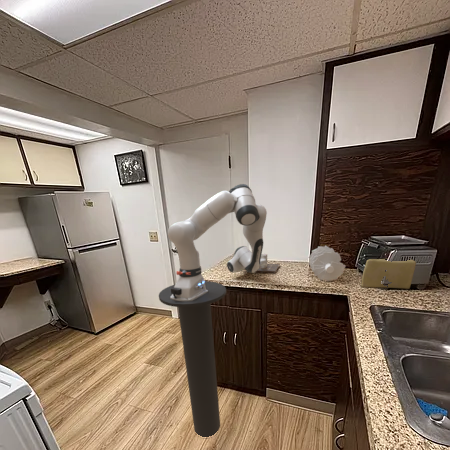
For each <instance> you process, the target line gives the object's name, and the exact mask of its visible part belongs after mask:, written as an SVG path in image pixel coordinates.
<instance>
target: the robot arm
mask: <svg viewBox="0 0 450 450" xmlns="http://www.w3.org/2000/svg"><path fill="white" fill-rule="evenodd" d="M231 213H234V215H235V218H236V220H237V222H238V223H239V224H240V225H242V234H243V236H244V238H245V239H246V241H247V242H248V244H249V246H250V248H249V247H247V246H246V245H242V246H239V247H237V248H236V249H235V251H234V253H233V257H232V258H231V259H229V260H228V261H227V262H226V268H227V270H228V271H229V272H230V273H233V274H234V273H240V272H242V271H245V272H246V271H247V272H246V273H248V274H255V273H257V272H256V271H257V270H258V269H259V268H260V266H264V265H266V264H268V259H267V260H266V259H261V254H263V249H264V237H263V236H264V235H263V233H264V232H263V231H264V227H265V224H266V220H267V214H268V212H267V209H266V207H265V206H264V205H262V204H260V203H257V202H256V199H255V196H254V194H253V191H252V189H251V187H250V186H249V185H248V184H245V183H240V184H237V185H235V186H233V187H232V188H230V189H229V191H228V190H221V191H219V192H217V193H216V194H214V195H212V196H211V197H210V198H208V199H207V200H206V201H204V202H203V203H202V204H201V205H200V206H198V207H197V208H196V209H195V210H194V212H193V213H192V215H191V216H190V217H189V218H186V219H184V220H180V221H176V222H174V223H172V224H171V225H169V227H168V229H167V237H168V239H169V241H170V242H171V243H173V245H174V247H175V250H176V252H177V255H178V261H179V270H177V271H176V275H177V276H178V278H177V280H176V282H175V284H174V285H175V286H174V288H172V289H171V294H172V295H171V297H170V299H172V300H176V301H193V300H195V299H197V298H198V297H200V296H202V295H204V294H206V293H208V290H206V287H205V281H206V280H205V277H204V276H203V275H202V266H201V261H200V260H201V259H200V252H199V251H198V250H197V247H196V245H195V243H194V241H196V240H198V239H199V238H200V237H201V236H203V235H204V234H205V233H206V232H207V231H208V230H209V229H211V228H212V227H214V226H215V225H216V224H217V223H219V222H220V221H221V220H223V219H224V218H225V217H227V215H228V214H231ZM250 249H251V250H250Z"/></svg>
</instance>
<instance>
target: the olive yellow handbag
mask: <svg viewBox="0 0 450 450" xmlns="http://www.w3.org/2000/svg"><path fill="white" fill-rule="evenodd" d="M385 259H386V258H369V259H367V260H366V262H365V265H364V268H363V272H362V277H361V283H360V286H361V287H362V288H378V289H379V288H380V289H381V288H383V289H400V290H401V289H402V290H403V289H404V290H409V289H411V285H412V282H413V278H414V274H415V269H416V265H417V262H416V260H413V259H411V260H407V261H392V262H391V261H387V260H385ZM385 270H387V271H386V272H385ZM384 276H386V280H387V279H388V281H389V282H392V283H391V284H388V287H387V286H384V285H383V284H381V281H382V279H383V277H384Z"/></svg>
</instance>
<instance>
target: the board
mask: <svg viewBox="0 0 450 450" xmlns="http://www.w3.org/2000/svg"><path fill="white" fill-rule="evenodd" d="M280 265H281V264H280V263H267V267H266V268H261V267H260V268H259V269H258V270H257V271H256V272H255V273H260V274H276V272H278V269H279V268H280ZM245 272H246V273H248V272H247V271H246V270H245Z"/></svg>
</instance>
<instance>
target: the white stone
mask: <svg viewBox="0 0 450 450" xmlns="http://www.w3.org/2000/svg"><path fill="white" fill-rule="evenodd" d="M261 259H266V260H267V261H268V254H267V253H262V254H261ZM267 264H268V263H267ZM267 264H266V265H264V266H260V267H261V268H266V267H267Z"/></svg>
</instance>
